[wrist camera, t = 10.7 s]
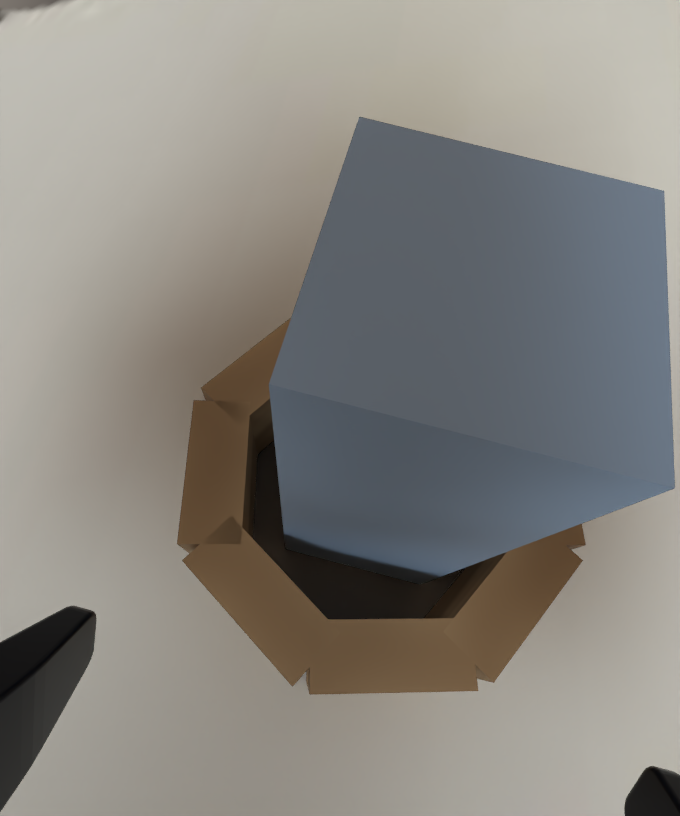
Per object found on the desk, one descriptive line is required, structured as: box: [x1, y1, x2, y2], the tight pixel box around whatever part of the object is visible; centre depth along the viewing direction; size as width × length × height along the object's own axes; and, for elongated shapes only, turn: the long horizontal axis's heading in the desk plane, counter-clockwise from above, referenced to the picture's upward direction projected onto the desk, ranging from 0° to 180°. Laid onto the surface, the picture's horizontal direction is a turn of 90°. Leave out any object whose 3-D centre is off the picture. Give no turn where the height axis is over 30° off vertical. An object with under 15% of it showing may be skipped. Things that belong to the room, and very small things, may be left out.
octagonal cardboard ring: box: [177, 318, 586, 694], centre depth 16 cm, size 11×11×4 cm
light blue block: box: [269, 117, 675, 584], centre depth 12 cm, size 4×4×12 cm
